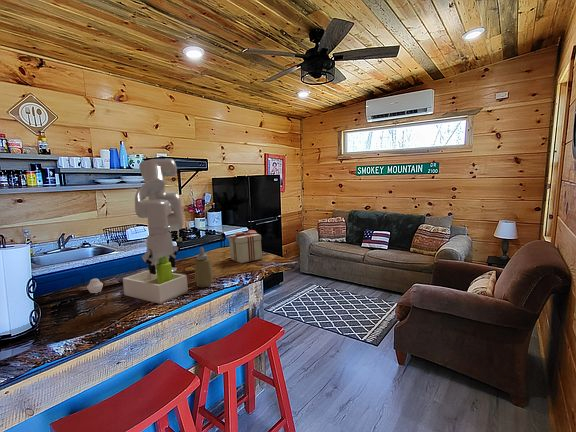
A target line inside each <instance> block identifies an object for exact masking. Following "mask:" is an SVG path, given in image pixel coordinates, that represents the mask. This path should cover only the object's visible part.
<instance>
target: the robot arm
mask: <svg viewBox="0 0 576 432" xmlns="http://www.w3.org/2000/svg"><path fill="white" fill-rule="evenodd" d="M138 167H139V170H140V174H141V176H142V178H143V180H144V183H143V184H142V185H141V186H139V188H138V190H137V191H136V193H135V195H134V212H135V214H136V216H137V217H138V218H139V219H147V224H148V233H149V235H147V238H146V252H145V253H144V254H143V255H142V256H141V258H142V260H143V262H144V263H145V264H146V265H148V270H149V272H150V274H154V275H155V274H156V264H158V263H159V259H160V258H163V256H166V255H167V260H168V262H171V269H172V273H175V272H176V271H177V269H178V268H177V267H176V258H177V255H178V251H179V246H178V245H174V243H173V239H172V235H171V232H174V231H179V230H183V227H184V216H183V207H182V206H183V205H182V200H181V197H180V195H179V194H178V193H177V192H167V193H166V187H165V186H166V182H165V177H175V176H176V175H177V172H178V168H177V164H176V161H175V160H174V159H173V158H152V159H148V160H142V161H141V162H139V166H138ZM146 198H148V199H147V200H145V199H146Z"/></svg>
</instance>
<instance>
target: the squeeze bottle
mask: <svg viewBox="0 0 576 432" xmlns="http://www.w3.org/2000/svg"><path fill="white" fill-rule="evenodd" d="M208 257H209V256H208V254H207V253H205V250H204V247H202V246H201V247H199V254H197V255H196V260H195V261H194V263H195V264H194V280H195V283H196V284H197V287H199V288H206V287H210V286H211V285H212V284H213V283H212V282H213V279H214V273H213V270H212V264H211V260H210V258H208Z"/></svg>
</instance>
